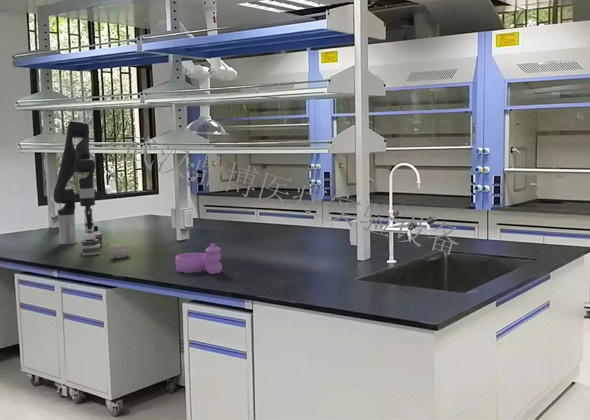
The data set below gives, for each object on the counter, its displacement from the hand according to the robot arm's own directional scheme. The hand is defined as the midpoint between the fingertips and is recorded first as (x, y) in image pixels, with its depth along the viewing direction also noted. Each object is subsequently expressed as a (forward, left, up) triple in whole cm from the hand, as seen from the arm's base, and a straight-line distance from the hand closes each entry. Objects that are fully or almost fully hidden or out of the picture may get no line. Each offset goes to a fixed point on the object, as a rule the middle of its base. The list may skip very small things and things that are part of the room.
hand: (89, 228), depth 345 cm
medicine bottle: (-22, +3, -14) cm, 26 cm away
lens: (0, 0, -2) cm, 2 cm away
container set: (+73, +43, -14) cm, 86 cm away
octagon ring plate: (0, 0, -14) cm, 14 cm away
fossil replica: (+22, +13, -14) cm, 29 cm away
